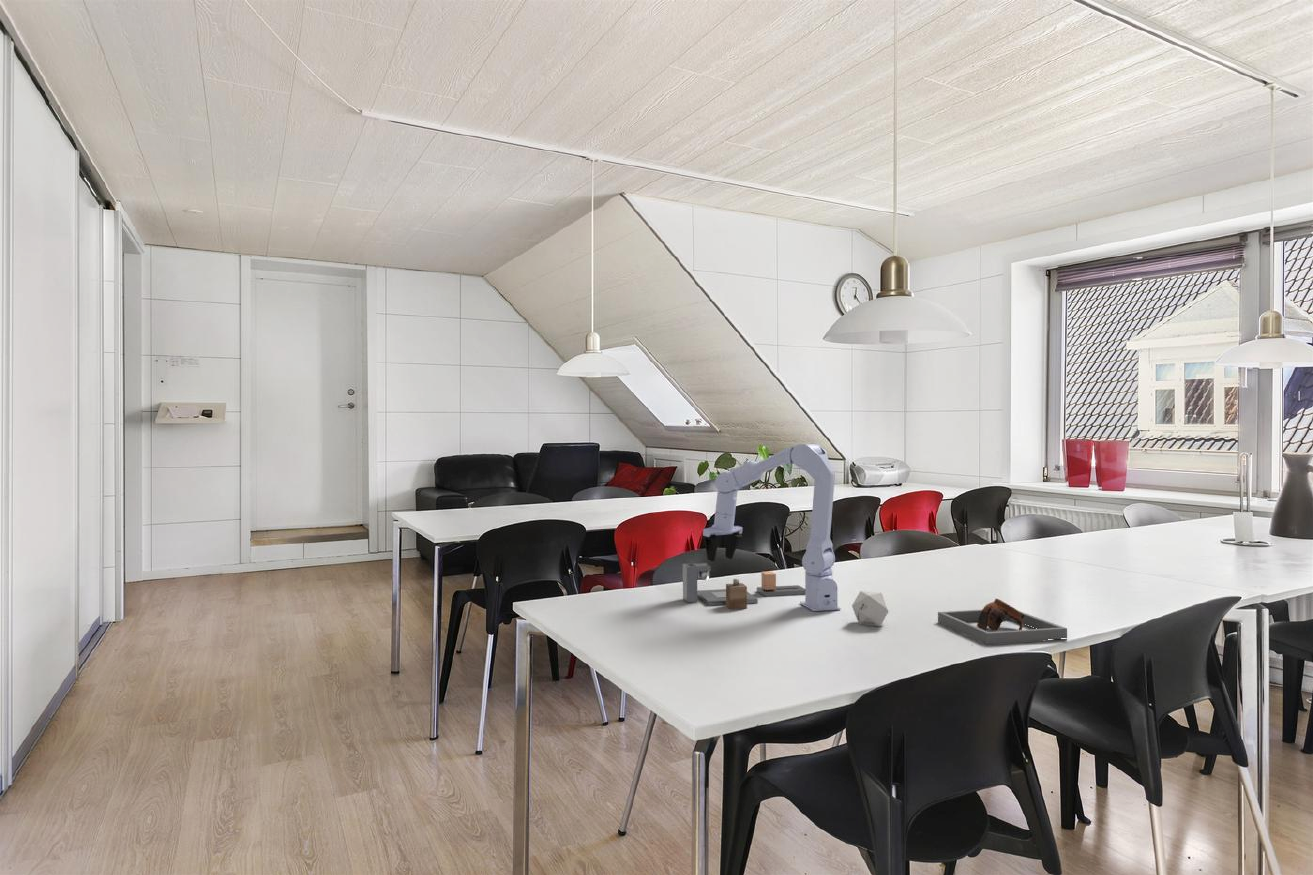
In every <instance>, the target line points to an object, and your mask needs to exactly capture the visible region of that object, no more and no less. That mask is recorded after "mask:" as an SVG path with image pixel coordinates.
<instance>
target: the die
mask: <svg viewBox="0 0 1313 875" xmlns="http://www.w3.org/2000/svg"><path fill="white" fill-rule="evenodd" d="M851 607H852V609H853V613H854V615H855V618H856V620H857V623H858V626H860V625H861V626H872V627H881V626H882V625H883V622H884V621H885V619H886V617H887V615H888V614H889V608H888V606H887V604H886V600H885V598H884V595H883V593H882V592H877V591H865V590H864V591H863V590H861V591H859V593H858V595H857V596H856V597H855V599H854V602H853V603H852V605H851Z"/></svg>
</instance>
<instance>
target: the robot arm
mask: <svg viewBox="0 0 1313 875" xmlns="http://www.w3.org/2000/svg"><path fill="white" fill-rule="evenodd" d="M785 464H787V465H795V466H796V467H797V468H800V469H802V470H803V471H805V472H806V473H808V474H809V476H810V477H811V478H812V479H813V480H814V485H813V486H814V487H813V499H812V511H811V512H812V513H811V525H810V537H809V540H808V542H807V544H806V549H805V550H806V551H805V553H804V554H803V556H802V559H801V564H802V567H803V569H804V570H805V571H804V578H805V580H804V581H805V582H804V585H805V587H804V589H805V594H804V595H805V596H804V597H805V600H804V601H803V600H801V601H800V602H799V604H801V605H802V606H804V607H806V608H807V609H809V611H813V612H817V611H818V612H820V611H822V612H823V611H835V610H837V611H838V610H842V607H841V606H839V605H838V585H837V582H836V581H835V579H834V578H833V569H832V567H833V566H834V564H835V562H836V556H835V553H834V550H833V545H834V544H833V542H832V540H831V532H832V531H831V530H832V529H831V528H832V519H833V518H832V514H833V504H834V492H835V491H834V489H835V478H836V477H835V476H836V475H835V470H834V468H833V466H832V464H831V462H830V460H829V458H828V452H827V451H826V450H825V449H824V448H823V447H822V446H821V445H820V444H817V443H806V444H805V443H800V444H797V445H795V446H790V447H787V448H785V449H782V450H780V451H778V452H776V453H775V454H772V455H771V456H769V457H767V458H765V459H762V460H761V461H759V462H757V461H755V460H751V461H750V459H747V460H744V461H743V464H741V465H739V466H737V467H731V468H729V471H728V472H727V471H722V472H721V473H719V474H718V475H717V476H716V478H715V487H716V489H717V496H716V503H715V509H714V511H715V512H714V522H713V524H712V525H711V526H710V527H706V528H703V531H702V535H701V537H702V538H701V539H702V540H703V543H704V546H705V550H706V557H707V560H708V561H710V562H715V560H716V557H717V556H716V554H717V550H718V547H719V544H720V541H721V538H718V537H717V536H724V539H725V552H724V553H725V554H724V555H725V558H727V559H729V560H732V559H733V557H734V555H735V552H736V550H737V547H738V546H739V544H740V542H742V540H743V535H742V533H743V527H742V526H740V525H734V524H735V517H736V508H737V500H738V492H739V490H741V488H743V487H746V486H748V485H751V484H752V483H754V482H757V481H760V480H761V479H762V477H763V474H764V473H766V472H768V471H771V470H773V469H776V468H778V467H781V466H782V465H783V466H784V465H785Z"/></svg>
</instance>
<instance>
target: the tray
mask: <svg viewBox="0 0 1313 875" xmlns="http://www.w3.org/2000/svg"><path fill="white" fill-rule="evenodd" d="M981 611H982V609H970V610H953V611H952V610H951V611H949V610H948V611H937V622H938V623H939V624H941V625H944V626H946V627H948V628H950V629H952V630H955V631H956V632H958V633H960V634H963V635H965V636H967V637H970V638H972V639H974V640H977V641H978V642H980V643H983V644H985V645H987V646H992V645H1001V644H1002V645H1005V644H1018V643H1032V642H1033V643H1034V641H1037V642H1044V641H1043V640H1048V639H1061V638H1067V639H1068V628H1067V627H1063V626H1062V625H1059V624H1055V623H1053V622H1050V621H1048V620H1045V619H1041V618H1039V617H1037V616H1034V615H1030V614H1028V613H1025V612H1022V611H1020V612H1021V613H1023V614H1024V615H1025V616H1024V617H1023V619H1022V620H1023V625H1024V624H1026V625H1029V626H1032V627H1034V628H1037V629H1034V628H1032V629H1022V630H1019V629H1018V630H1017V629H1015V630H1002V631H999V630H998V631H987V630H986V631H985V630H983V629H980V628H979V627H978V626H977V625H974V624H970V623H969V622H978V618H979V616H980V613H981ZM991 611H992V610H990V612H991ZM1011 619H1013V620H1014V618H1011V617H1010V616H1008V615H1006V614H1005V619H1004V620H1011ZM1013 620H1012V621H1013ZM1026 625H1025V626H1026ZM1029 626H1028V627H1029Z"/></svg>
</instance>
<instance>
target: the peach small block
mask: <svg viewBox="0 0 1313 875" xmlns="http://www.w3.org/2000/svg"><path fill="white" fill-rule="evenodd" d="M760 576H761V587H762V588H764V589H765V590H776V586H777V574H776V573H775V572H773V571H761V575H760Z"/></svg>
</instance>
